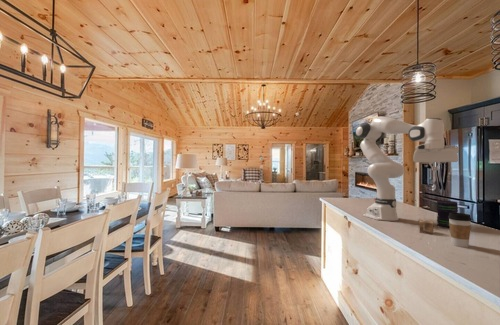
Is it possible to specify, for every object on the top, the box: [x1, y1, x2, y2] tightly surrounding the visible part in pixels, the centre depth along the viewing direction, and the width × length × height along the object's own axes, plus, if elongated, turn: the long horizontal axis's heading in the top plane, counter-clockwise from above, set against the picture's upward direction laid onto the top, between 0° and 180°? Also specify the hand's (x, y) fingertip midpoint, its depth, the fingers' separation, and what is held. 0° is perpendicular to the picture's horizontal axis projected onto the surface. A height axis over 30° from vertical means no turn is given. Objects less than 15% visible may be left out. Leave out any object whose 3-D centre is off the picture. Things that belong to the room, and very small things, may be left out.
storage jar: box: [436, 200, 459, 230], centre depth 143 cm, size 10×10×15 cm
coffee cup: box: [448, 212, 472, 248], centre depth 112 cm, size 8×8×15 cm
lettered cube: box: [418, 219, 434, 235], centre depth 133 cm, size 6×6×6 cm
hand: (434, 170), depth 135 cm, fingers closed
